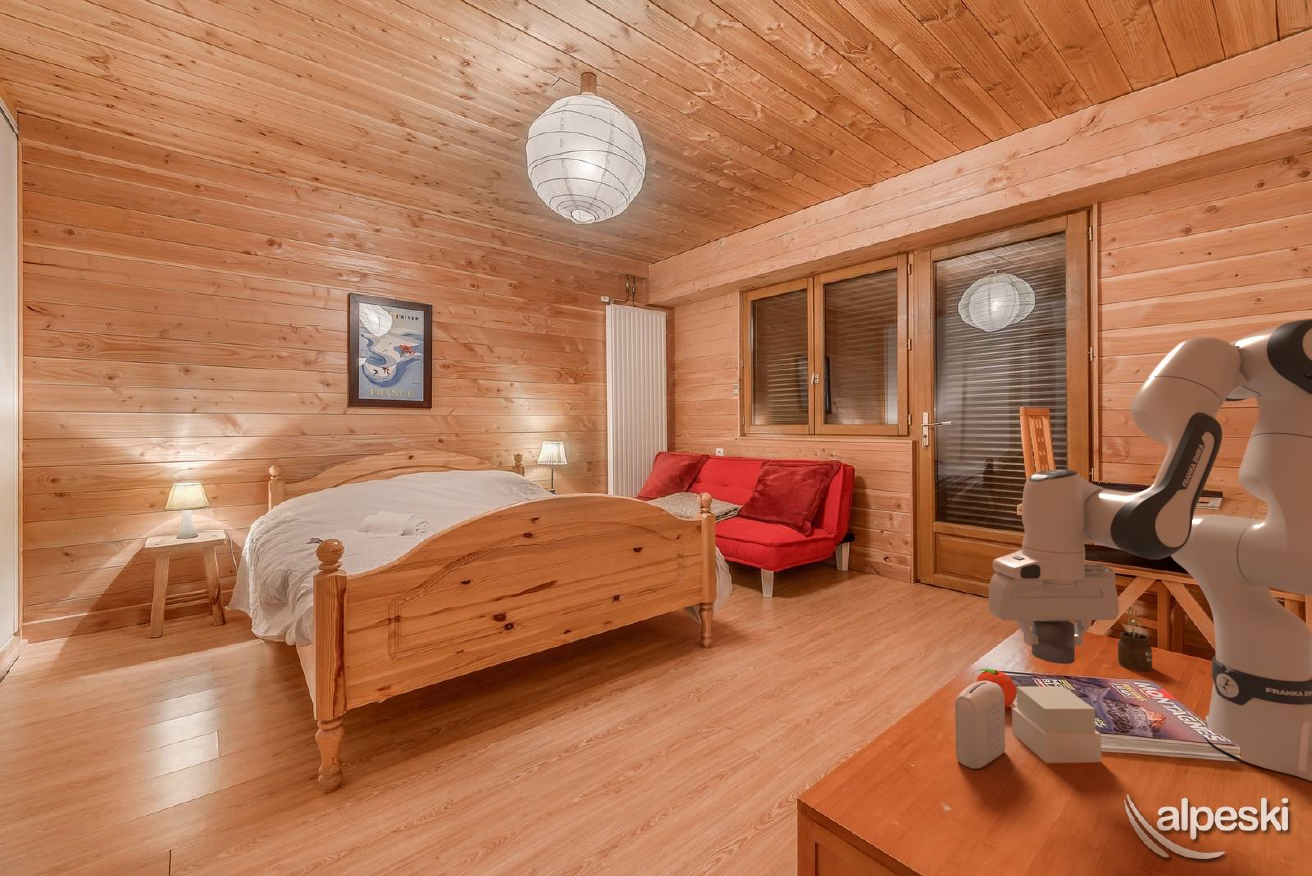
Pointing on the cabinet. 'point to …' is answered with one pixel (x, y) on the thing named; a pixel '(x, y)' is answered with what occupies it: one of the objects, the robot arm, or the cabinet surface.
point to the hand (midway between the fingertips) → (1052, 644)
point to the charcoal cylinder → (1054, 641)
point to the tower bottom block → (1056, 742)
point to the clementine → (1000, 683)
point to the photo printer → (980, 724)
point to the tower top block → (1056, 709)
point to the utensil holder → (1134, 648)
